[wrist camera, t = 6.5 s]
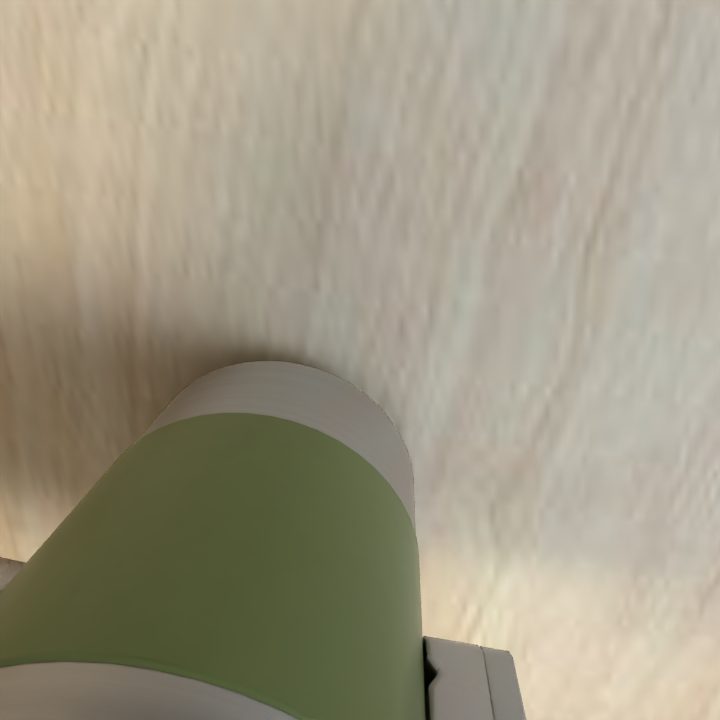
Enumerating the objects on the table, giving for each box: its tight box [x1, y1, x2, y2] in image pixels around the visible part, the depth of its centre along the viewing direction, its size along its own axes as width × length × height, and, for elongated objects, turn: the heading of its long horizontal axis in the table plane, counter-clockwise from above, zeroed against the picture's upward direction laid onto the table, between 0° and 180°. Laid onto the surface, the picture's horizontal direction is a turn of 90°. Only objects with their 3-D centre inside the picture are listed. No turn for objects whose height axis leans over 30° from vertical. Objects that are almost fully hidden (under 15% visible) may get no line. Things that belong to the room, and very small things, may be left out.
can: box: [0, 361, 426, 720], centre depth 9 cm, size 7×7×10 cm
